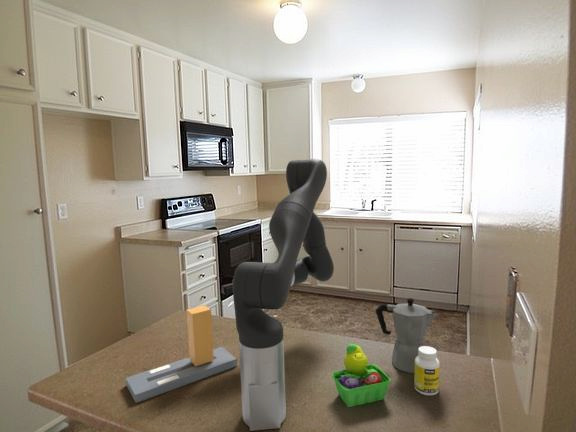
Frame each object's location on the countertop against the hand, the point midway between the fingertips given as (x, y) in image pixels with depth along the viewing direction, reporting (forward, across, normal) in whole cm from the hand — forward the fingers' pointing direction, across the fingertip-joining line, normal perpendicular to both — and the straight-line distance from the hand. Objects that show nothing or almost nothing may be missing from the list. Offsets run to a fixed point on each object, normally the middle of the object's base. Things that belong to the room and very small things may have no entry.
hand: (222, 290), depth 101 cm
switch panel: (+12, 0, +20) cm, 23 cm away
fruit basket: (-17, +34, +20) cm, 43 cm away
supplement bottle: (-30, +42, +20) cm, 56 cm away
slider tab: (+7, 0, +18) cm, 19 cm away
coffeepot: (-36, +32, +20) cm, 52 cm away
